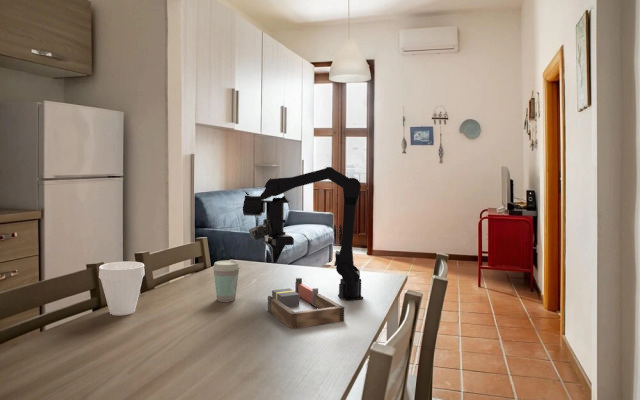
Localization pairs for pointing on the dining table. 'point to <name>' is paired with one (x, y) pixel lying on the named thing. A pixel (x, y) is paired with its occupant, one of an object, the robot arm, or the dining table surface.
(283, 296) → the grey taped parcel
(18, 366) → the dining table surface
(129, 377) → the dining table surface
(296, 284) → the gate
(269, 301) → the tan frame
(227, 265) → the coffee cup
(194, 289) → the dining table surface
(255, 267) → the dining table surface
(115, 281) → the cup
